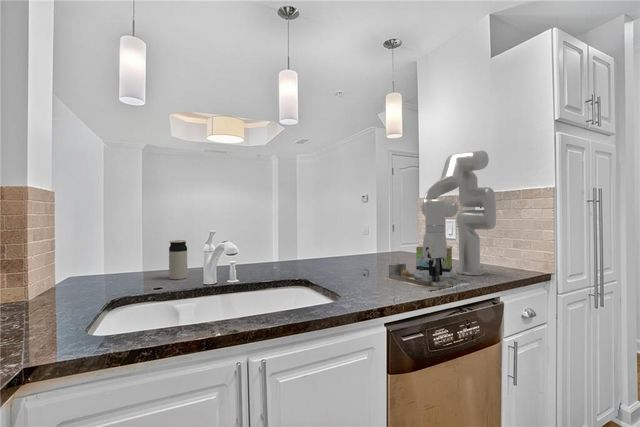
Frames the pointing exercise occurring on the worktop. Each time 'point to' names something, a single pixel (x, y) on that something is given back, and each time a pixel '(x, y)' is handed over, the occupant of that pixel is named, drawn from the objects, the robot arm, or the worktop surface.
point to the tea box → (423, 265)
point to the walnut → (405, 273)
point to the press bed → (396, 276)
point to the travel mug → (178, 259)
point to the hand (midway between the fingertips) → (435, 275)
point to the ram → (434, 280)
